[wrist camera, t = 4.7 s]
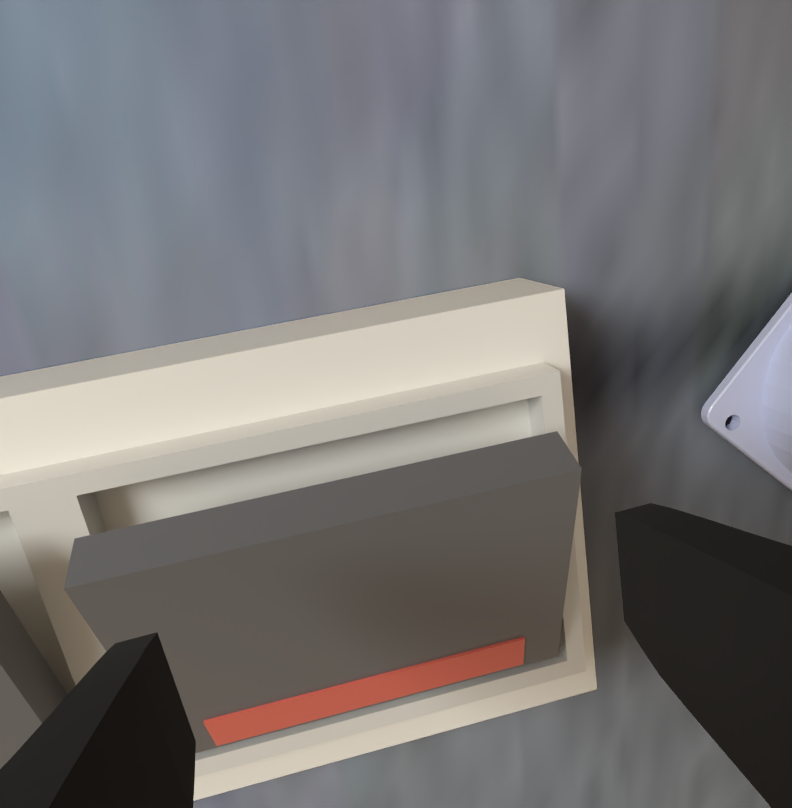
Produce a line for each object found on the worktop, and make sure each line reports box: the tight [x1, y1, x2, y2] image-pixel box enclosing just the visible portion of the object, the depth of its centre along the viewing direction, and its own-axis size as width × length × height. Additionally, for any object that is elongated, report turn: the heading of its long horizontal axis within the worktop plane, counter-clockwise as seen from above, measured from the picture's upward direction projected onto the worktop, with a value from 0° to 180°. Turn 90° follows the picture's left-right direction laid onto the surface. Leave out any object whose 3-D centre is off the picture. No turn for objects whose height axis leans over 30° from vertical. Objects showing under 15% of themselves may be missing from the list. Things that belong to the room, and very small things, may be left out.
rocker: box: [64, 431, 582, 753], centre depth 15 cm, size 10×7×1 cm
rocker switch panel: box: [0, 278, 597, 801], centre depth 17 cm, size 25×12×4 cm, turn 99°
